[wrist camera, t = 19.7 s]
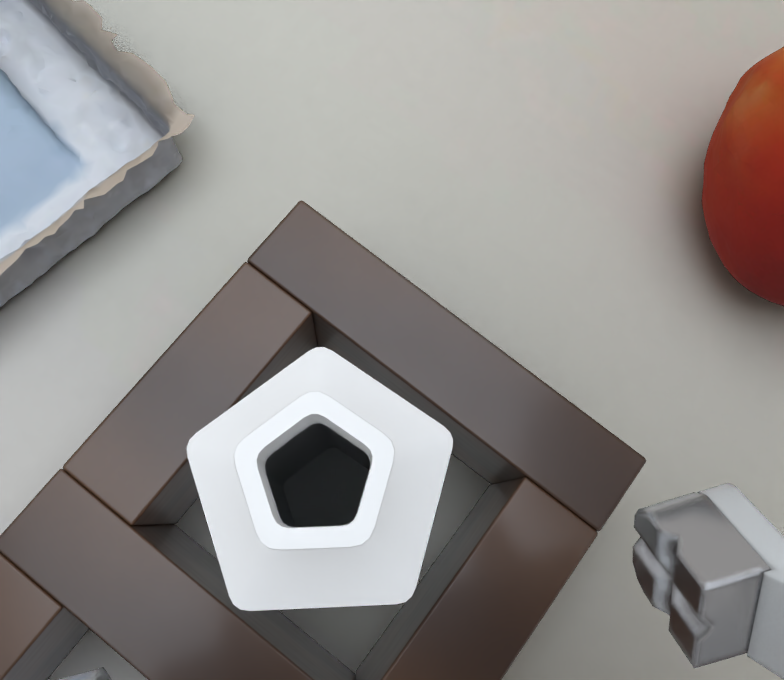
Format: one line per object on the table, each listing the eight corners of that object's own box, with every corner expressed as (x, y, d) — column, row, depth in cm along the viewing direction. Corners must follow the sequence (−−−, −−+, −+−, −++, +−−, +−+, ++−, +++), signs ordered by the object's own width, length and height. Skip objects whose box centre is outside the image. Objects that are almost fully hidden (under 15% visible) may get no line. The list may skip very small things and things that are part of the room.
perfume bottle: (322, 604, 23) (280, 748, 9) (242, 495, 24) (82, 460, 9) (431, 514, 24) (559, 509, 10) (352, 412, 25) (360, 262, 10)
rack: (309, 257, 26) (300, 197, 21) (589, 470, 25) (648, 459, 20) (-179, 819, 21) (-336, 909, 16) (143, 1124, 20) (77, 1320, 15)
